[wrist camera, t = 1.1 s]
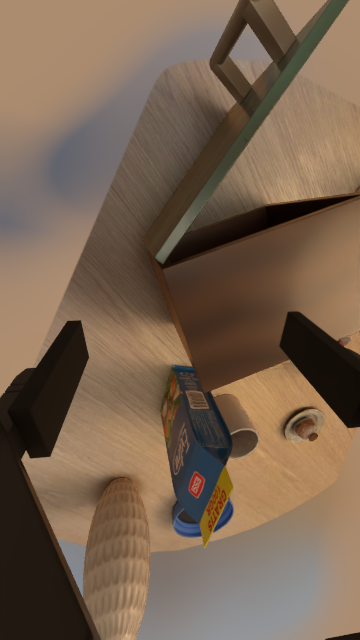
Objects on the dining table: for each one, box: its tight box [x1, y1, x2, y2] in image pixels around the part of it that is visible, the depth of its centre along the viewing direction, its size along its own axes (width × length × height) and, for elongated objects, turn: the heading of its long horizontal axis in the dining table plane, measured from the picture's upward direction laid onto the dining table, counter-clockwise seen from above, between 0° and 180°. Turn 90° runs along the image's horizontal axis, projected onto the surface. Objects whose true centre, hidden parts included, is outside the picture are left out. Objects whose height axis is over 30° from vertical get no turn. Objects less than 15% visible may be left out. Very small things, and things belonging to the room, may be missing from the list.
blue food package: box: [160, 366, 233, 547], centre depth 40 cm, size 6×12×25 cm, turn 166°
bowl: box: [173, 498, 234, 538], centre depth 68 cm, size 18×18×4 cm
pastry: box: [285, 408, 325, 443], centre depth 62 cm, size 12×12×5 cm
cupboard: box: [146, 192, 360, 393], centre depth 33 cm, size 15×22×20 cm
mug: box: [214, 394, 260, 459], centre depth 52 cm, size 12×9×10 cm
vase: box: [83, 478, 150, 640], centre depth 47 cm, size 13×13×28 cm
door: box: [142, 0, 349, 264], centre depth 26 cm, size 6×22×20 cm, turn 143°
